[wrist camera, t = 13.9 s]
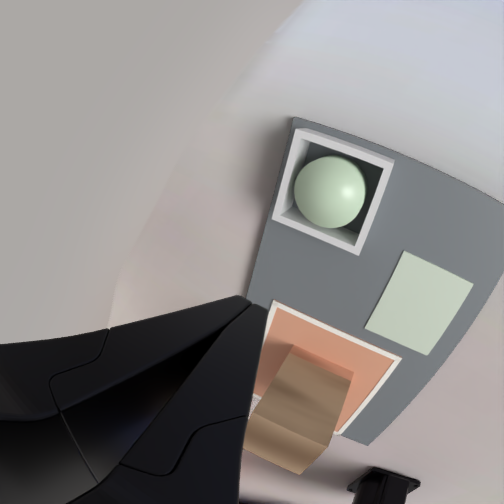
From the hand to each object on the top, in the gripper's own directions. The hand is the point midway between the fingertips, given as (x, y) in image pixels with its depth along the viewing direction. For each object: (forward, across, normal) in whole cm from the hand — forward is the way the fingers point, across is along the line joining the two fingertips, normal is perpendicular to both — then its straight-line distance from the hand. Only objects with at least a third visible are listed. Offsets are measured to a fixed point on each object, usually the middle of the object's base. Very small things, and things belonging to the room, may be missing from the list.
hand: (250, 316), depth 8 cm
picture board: (+13, -3, +8) cm, 15 cm away
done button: (+12, +1, -1) cm, 12 cm away
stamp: (+12, -3, +14) cm, 19 cm away
